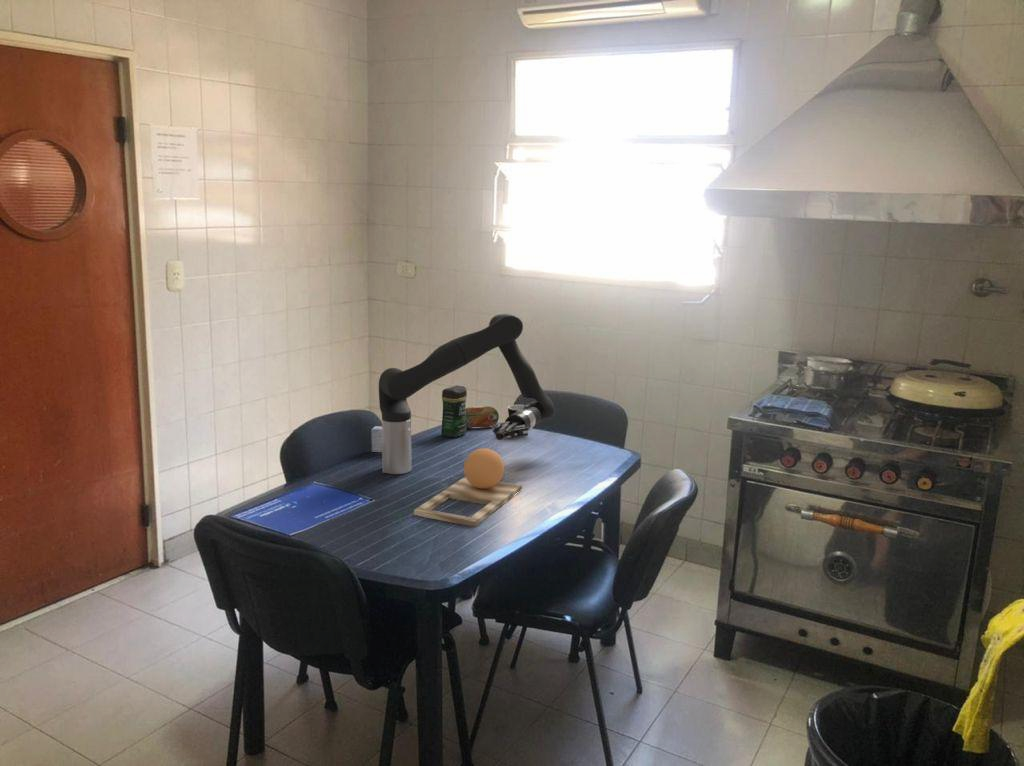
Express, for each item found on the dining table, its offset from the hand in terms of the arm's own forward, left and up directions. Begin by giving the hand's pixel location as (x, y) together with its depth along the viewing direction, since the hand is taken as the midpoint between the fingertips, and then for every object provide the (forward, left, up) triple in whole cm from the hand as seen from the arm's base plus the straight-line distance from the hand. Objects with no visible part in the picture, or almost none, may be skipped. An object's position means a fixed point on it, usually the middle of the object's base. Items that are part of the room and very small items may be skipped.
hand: (498, 436), depth 248 cm
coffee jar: (-12, +54, -15) cm, 57 cm away
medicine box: (-37, +34, -15) cm, 52 cm away
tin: (-2, +64, -15) cm, 66 cm away
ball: (-5, -8, -7) cm, 12 cm away
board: (-10, -16, -15) cm, 24 cm away
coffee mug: (+13, +54, -15) cm, 58 cm away
